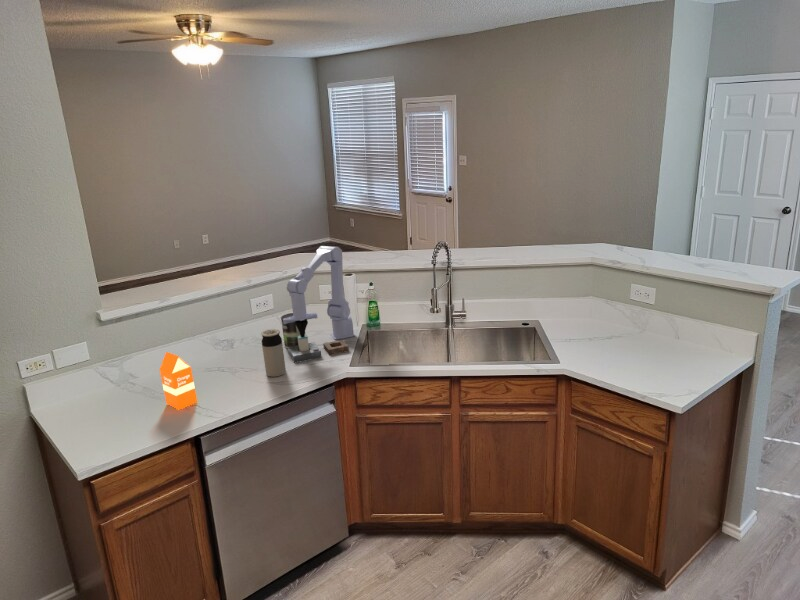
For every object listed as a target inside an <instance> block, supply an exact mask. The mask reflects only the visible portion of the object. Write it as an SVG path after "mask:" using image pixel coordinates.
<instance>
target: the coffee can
mask: <svg viewBox="0 0 800 600" xmlns="http://www.w3.org/2000/svg"><path fill="white" fill-rule="evenodd" d="M292 316H293V312H291V313H286V314H283V315H282V316H281V317H280V319H281V327H282V335H283V341H284V342H283V344H284V347H285V349H288V347H292V346H297V345H299V343H298V337H297V336H299V335H300V332H299V330H298V328H297V326H296V324H295V323H294V322H291V323H287V324H284V323H283V319H285V318H288V317H292Z"/></svg>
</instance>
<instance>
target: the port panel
mask: <svg viewBox="0 0 800 600" xmlns="http://www.w3.org/2000/svg"><path fill="white" fill-rule="evenodd" d="M308 345H309V350H307V351H302V352H300V351H299V345H297V346H292V347H288V348H287V351H288V355H289V357H290V359H291V360H292V361H294V362H293V363H295V362H296V363H301V362H306V361H309V360H310V359H311V360H315V359H320V358H322V351H321V349H320V347H318V345H317V344H316V343H315V342H308ZM305 360H306V361H305ZM300 361H301V362H300ZM296 363H295V364H296Z"/></svg>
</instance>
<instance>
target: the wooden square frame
mask: <svg viewBox="0 0 800 600" xmlns="http://www.w3.org/2000/svg"><path fill="white" fill-rule="evenodd" d="M322 345H323V350H324V349H325V350H324V351H325V352H326V353H327V354H329V355H328V356H333V355H337V354H341V353H346V352H349V351H350V350H349V345H348V344H347V343H346V342H345V341H344V340H343V339H337V340H334V341H329V342H325V343H324V342H323V343H322ZM332 354H333V355H332Z"/></svg>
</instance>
